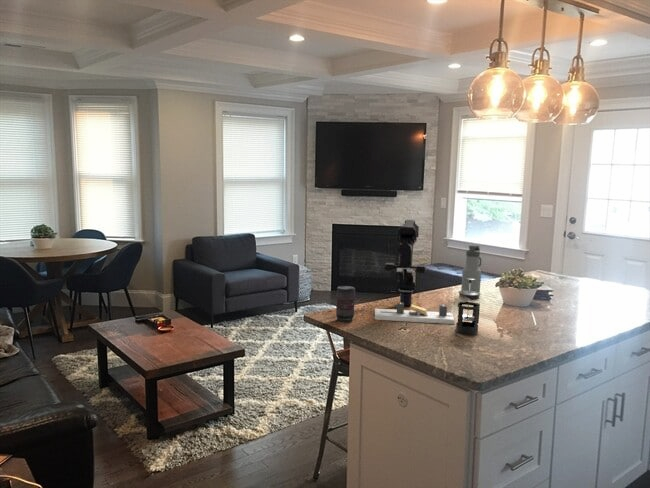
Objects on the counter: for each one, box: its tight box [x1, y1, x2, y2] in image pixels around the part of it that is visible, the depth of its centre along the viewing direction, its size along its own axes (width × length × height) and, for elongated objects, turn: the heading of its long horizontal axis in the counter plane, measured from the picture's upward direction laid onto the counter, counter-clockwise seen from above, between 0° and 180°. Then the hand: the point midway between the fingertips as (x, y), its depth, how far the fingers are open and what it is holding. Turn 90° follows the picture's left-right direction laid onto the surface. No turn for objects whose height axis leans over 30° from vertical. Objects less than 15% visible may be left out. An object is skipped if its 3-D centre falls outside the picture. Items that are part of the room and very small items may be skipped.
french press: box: [454, 278, 481, 336], centre depth 228 cm, size 12×9×23 cm
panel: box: [374, 308, 455, 325], centre depth 248 cm, size 12×35×4 cm, turn 84°
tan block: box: [409, 303, 427, 315], centre depth 248 cm, size 5×7×2 cm
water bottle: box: [460, 244, 482, 299], centre depth 295 cm, size 10×10×28 cm
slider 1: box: [396, 301, 405, 313], centre depth 248 cm, size 3×3×4 cm
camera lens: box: [335, 285, 356, 324], centre depth 240 cm, size 8×8×15 cm
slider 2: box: [438, 304, 448, 316], centre depth 247 cm, size 3×3×4 cm
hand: (404, 286), depth 255 cm, fingers closed
